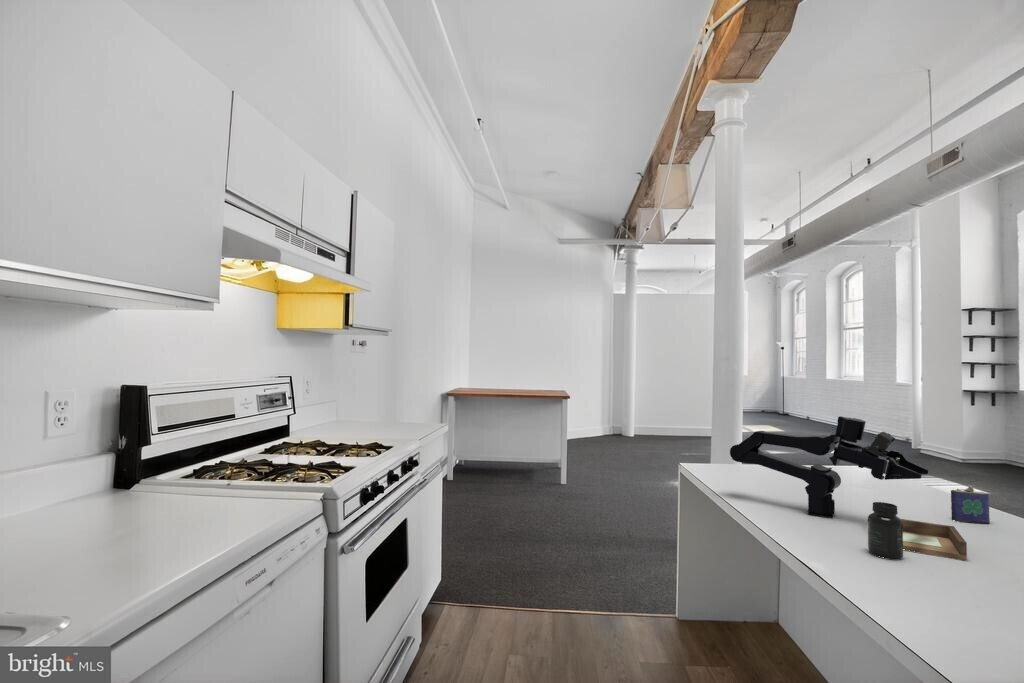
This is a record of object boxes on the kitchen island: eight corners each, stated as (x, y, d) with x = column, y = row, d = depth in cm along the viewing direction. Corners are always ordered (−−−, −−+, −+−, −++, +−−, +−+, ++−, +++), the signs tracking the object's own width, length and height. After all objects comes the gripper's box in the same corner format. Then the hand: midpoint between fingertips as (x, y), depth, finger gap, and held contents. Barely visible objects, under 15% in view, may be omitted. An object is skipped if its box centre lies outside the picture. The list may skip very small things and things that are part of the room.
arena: (883, 546, 129) (882, 529, 129) (878, 531, 142) (878, 515, 142) (966, 560, 121) (966, 542, 121) (954, 542, 134) (953, 526, 134)
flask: (986, 522, 153) (985, 485, 153) (992, 525, 150) (992, 488, 150) (949, 519, 155) (948, 483, 156) (954, 522, 152) (954, 485, 153)
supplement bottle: (891, 550, 127) (890, 501, 127) (910, 561, 120) (909, 509, 121) (862, 549, 128) (861, 500, 128) (878, 559, 121) (878, 507, 121)
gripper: (854, 431, 144) (924, 449, 132) (872, 426, 156) (937, 442, 145) (846, 469, 145) (914, 490, 133) (865, 462, 157) (929, 480, 146)
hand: (924, 474), depth 139 cm, fingers open, 9 cm apart
